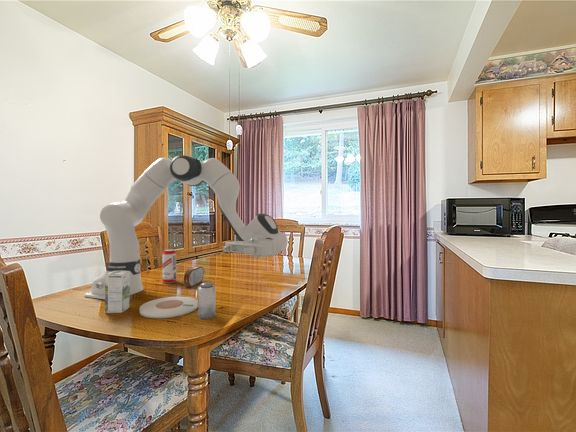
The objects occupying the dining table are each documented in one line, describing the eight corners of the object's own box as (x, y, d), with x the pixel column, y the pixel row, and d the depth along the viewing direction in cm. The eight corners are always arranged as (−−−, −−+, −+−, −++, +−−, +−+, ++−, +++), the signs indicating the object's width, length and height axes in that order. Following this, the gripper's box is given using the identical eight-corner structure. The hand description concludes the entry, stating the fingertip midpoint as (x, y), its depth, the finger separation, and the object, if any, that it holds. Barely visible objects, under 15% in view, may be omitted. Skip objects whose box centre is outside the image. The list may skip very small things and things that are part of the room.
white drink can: (195, 322, 96) (194, 285, 95) (202, 316, 101) (202, 281, 101) (211, 323, 95) (211, 286, 95) (218, 317, 100) (217, 281, 100)
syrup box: (113, 311, 107) (112, 270, 106) (130, 310, 107) (129, 270, 107) (104, 316, 101) (104, 274, 101) (123, 316, 102) (122, 273, 101)
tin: (199, 280, 151) (199, 264, 151) (204, 281, 151) (204, 264, 150) (183, 288, 136) (182, 270, 136) (189, 289, 136) (189, 270, 136)
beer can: (171, 284, 144) (171, 251, 143) (160, 283, 145) (159, 250, 145) (179, 281, 150) (178, 249, 150) (167, 280, 151) (167, 248, 151)
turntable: (126, 316, 98) (126, 311, 98) (160, 299, 116) (160, 294, 116) (181, 319, 95) (181, 314, 95) (206, 301, 113) (206, 297, 113)
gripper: (239, 236, 125) (213, 239, 113) (279, 239, 113) (254, 243, 102) (239, 251, 125) (213, 256, 113) (279, 256, 113) (254, 261, 102)
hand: (233, 250), depth 107 cm, fingers open, 8 cm apart
